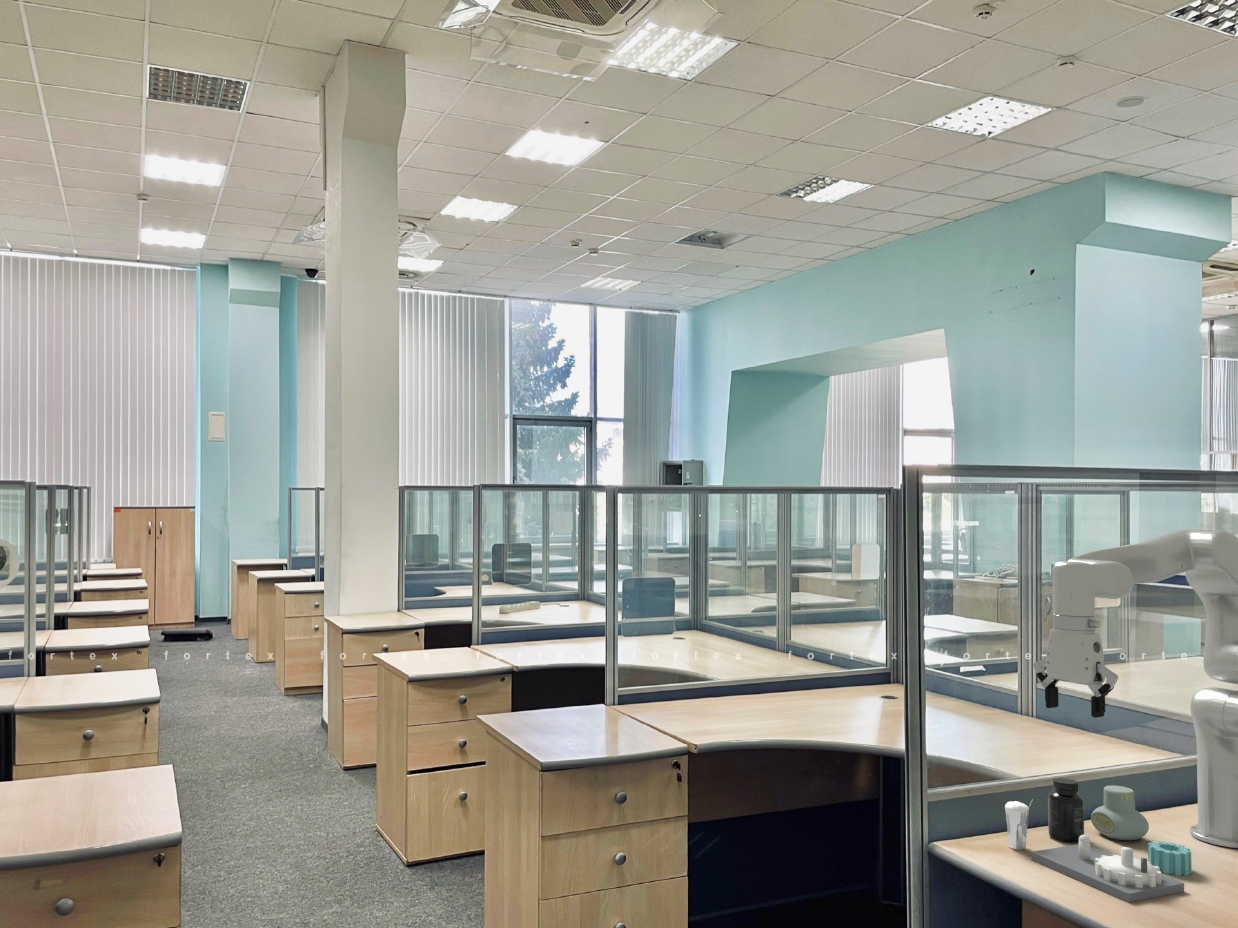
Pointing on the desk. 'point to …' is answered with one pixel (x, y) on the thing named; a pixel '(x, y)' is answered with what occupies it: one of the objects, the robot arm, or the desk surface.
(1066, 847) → the gear board
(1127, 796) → the air freshener
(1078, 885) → the desk surface
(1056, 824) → the supplement bottle
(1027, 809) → the milkshake
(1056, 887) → the desk surface
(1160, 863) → the gear
